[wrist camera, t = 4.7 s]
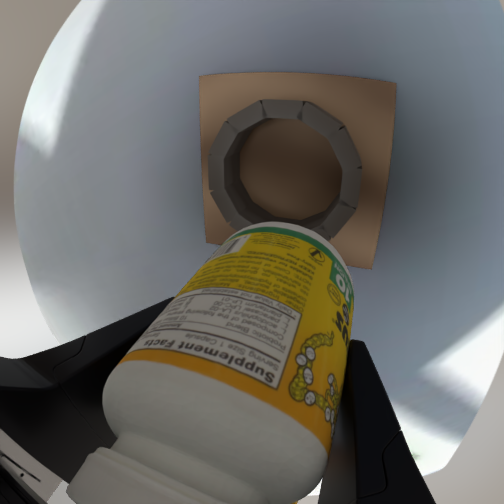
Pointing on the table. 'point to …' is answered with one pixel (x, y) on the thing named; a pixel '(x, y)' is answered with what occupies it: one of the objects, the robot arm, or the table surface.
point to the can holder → (297, 155)
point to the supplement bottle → (231, 380)
